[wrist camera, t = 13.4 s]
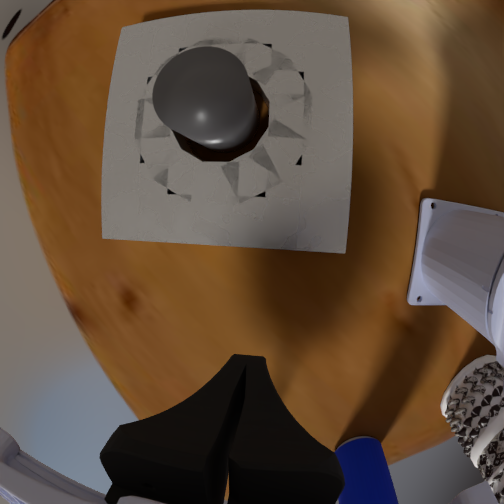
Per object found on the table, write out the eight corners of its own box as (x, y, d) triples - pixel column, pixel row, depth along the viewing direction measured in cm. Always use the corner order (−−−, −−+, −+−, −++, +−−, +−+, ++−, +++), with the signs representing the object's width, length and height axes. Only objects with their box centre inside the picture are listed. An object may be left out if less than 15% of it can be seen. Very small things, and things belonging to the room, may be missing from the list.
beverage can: (329, 441, 23) (343, 571, 9) (379, 427, 23) (415, 551, 8) (335, 466, 24) (347, 578, 10) (379, 454, 24) (407, 562, 9)
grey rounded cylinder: (262, 91, 18) (253, 46, 11) (255, 155, 19) (243, 136, 12) (197, 89, 18) (160, 49, 11) (189, 150, 19) (146, 134, 12)
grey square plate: (341, 33, 16) (348, 17, 14) (337, 245, 19) (345, 253, 17) (135, 40, 17) (122, 27, 15) (119, 232, 21) (102, 238, 18)
